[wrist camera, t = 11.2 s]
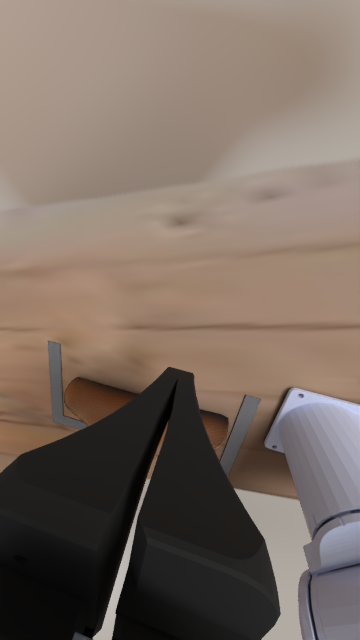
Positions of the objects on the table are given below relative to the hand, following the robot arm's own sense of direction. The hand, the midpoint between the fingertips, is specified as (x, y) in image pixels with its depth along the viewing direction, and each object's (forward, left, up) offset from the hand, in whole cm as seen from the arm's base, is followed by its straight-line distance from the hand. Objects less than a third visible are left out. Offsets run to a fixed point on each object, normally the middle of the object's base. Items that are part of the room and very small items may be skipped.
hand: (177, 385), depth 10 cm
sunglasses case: (+3, +14, -10) cm, 17 cm away
